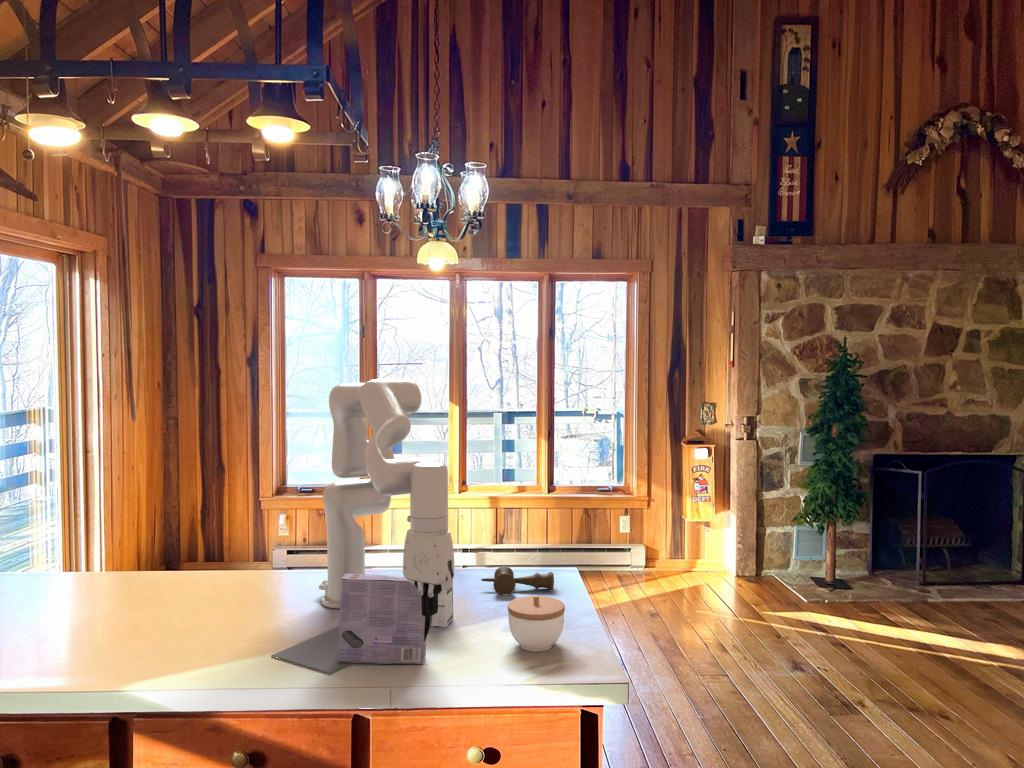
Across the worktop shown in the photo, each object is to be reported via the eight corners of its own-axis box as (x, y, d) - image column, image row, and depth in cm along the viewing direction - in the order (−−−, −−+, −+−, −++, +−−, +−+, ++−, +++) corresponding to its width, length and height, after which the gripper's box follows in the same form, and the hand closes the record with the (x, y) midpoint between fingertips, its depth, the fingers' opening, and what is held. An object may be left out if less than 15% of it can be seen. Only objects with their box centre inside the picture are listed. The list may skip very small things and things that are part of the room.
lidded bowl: (548, 661, 158) (549, 609, 157) (497, 649, 164) (497, 599, 164) (574, 641, 169) (574, 592, 168) (524, 631, 175) (524, 584, 175)
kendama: (555, 597, 201) (480, 595, 201) (552, 587, 211) (480, 585, 210) (555, 575, 201) (481, 573, 201) (552, 565, 211) (481, 564, 210)
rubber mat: (271, 656, 160) (271, 655, 160) (345, 625, 179) (344, 623, 179) (329, 674, 151) (329, 672, 151) (400, 639, 170) (400, 637, 170)
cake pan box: (431, 655, 161) (433, 574, 160) (429, 665, 156) (431, 581, 155) (341, 653, 160) (342, 572, 159) (336, 663, 155) (337, 579, 154)
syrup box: (447, 627, 177) (446, 566, 177) (423, 626, 178) (422, 565, 178) (453, 619, 183) (453, 560, 182) (430, 617, 184) (430, 559, 183)
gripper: (388, 523, 151) (389, 613, 152) (448, 532, 144) (448, 627, 144) (412, 516, 158) (412, 602, 158) (470, 524, 150) (470, 615, 151)
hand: (429, 614), depth 151 cm, fingers closed
